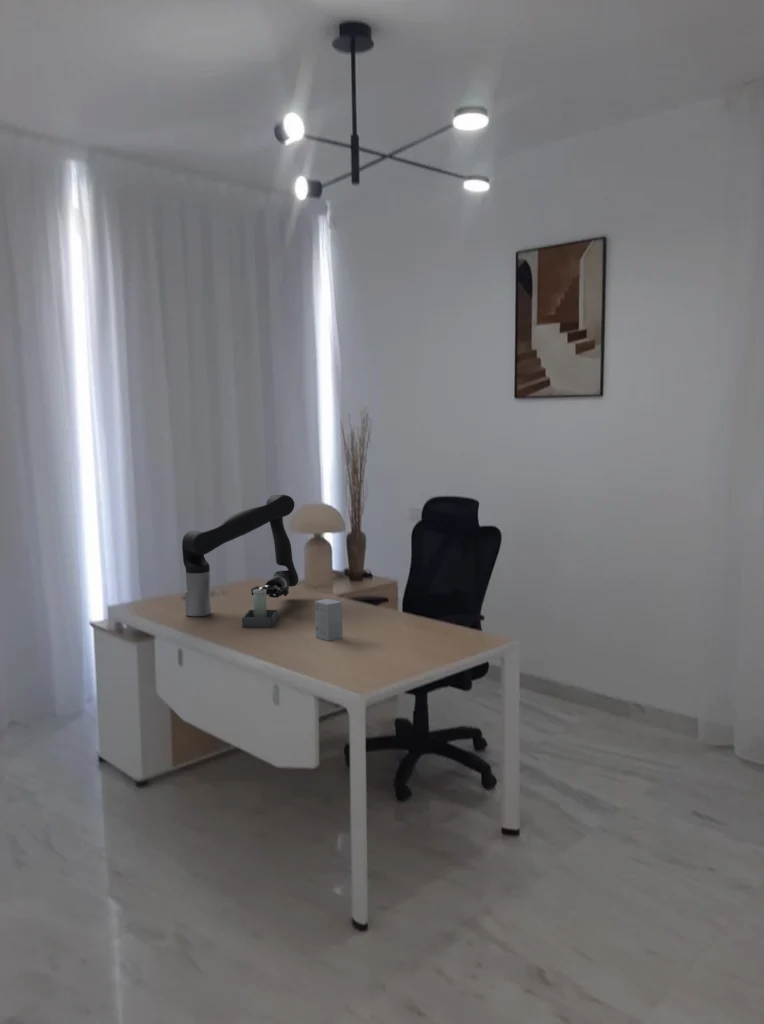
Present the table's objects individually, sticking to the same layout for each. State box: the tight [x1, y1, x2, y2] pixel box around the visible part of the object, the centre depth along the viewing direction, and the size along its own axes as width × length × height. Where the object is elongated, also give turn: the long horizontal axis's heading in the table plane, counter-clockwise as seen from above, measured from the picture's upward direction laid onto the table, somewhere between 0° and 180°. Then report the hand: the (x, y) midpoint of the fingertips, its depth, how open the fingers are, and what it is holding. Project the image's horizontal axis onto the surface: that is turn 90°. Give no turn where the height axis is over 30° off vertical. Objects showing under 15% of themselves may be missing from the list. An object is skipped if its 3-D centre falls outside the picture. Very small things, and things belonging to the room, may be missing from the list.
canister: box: [252, 589, 267, 618], centre depth 305 cm, size 5×5×12 cm
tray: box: [241, 609, 279, 628], centre depth 305 cm, size 11×13×4 cm
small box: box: [314, 598, 343, 642], centre depth 283 cm, size 8×6×13 cm
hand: (265, 594), depth 313 cm, fingers open, 8 cm apart
